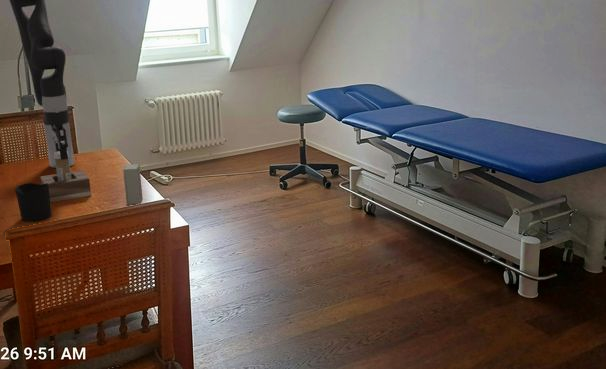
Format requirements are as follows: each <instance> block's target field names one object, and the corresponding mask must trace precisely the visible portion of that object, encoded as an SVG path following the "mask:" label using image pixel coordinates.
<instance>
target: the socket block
mask: <svg viewBox="0 0 606 369" xmlns="http://www.w3.org/2000/svg"><path fill="white" fill-rule="evenodd" d="M70 172H71V179H70V180H64V181H58V177H57V173H56V174H48V175H42V176H39V178H40V185H42V184H45V183H48V185H49V194H50V203H54V202H55V203H56V202H60V201H66V200H72V199H79V198H85V197H90V196H91V197H92V191H91V184H90V178H89V176H87V174H86V173H85V172H84V170H77V171H76V170H75V171H70Z"/></svg>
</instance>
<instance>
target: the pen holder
mask: <svg viewBox="0 0 606 369" xmlns="http://www.w3.org/2000/svg"><path fill="white" fill-rule="evenodd" d="M14 190H15V195H16V200H17V204H18V208H19V210H18V211H19V213H20V217H21V218H20V219H21V220H23V221H24V222H27V223H28V222H31V223H32V222H33V223H34V222H40V221H44V220H47V219H49V218H50V217H51V216H52V204H51V203H52V202H50V194H49V185H48V183H45V184H42V185H41V184H38V183H34V182H28V183H27V182H26V183H22V184H20V185H17V186H16V187H15V188H14Z"/></svg>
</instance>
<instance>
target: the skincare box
mask: <svg viewBox="0 0 606 369" xmlns="http://www.w3.org/2000/svg"><path fill="white" fill-rule="evenodd" d="M140 165H141V164H140V163H126V165H125V166H124V168H123V170H122V172H123V180H124V192H125V201H126V202H125V204H126V206H128V205H129V206H131V205H130V204H135V205H139V204H138V203H140V204H141V203H142V200H143V189H142V187H143V186H142V177H141V168H140Z"/></svg>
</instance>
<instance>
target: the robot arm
mask: <svg viewBox="0 0 606 369" xmlns="http://www.w3.org/2000/svg"><path fill="white" fill-rule="evenodd" d="M8 1H9V3H10V5H11V6H10V7H11V9H12V12H13V15H14V17H15V21H16V24H17V27H18V31H19V35H20V40H21V43H22V44H21V45H22V47H23V51H24V55H25V58H26V60H27V65H28V67H29V72H30V75H31V81H32V85H33V86H32V87H33V90H34V96H35V100H36V102H37V104H38V105H39V106H40V107H42V111H43V112H42V113H43V126H44V133H45V139H46V146H47V153H48V155H47V156H48V161H49V166H50V168H53V169H54V168H55V169H56V161H55V158H54V153H55V152H57V151H60V157H61V159H62V160H65V159H69V166H70V167H71V166H74V165H75V157H74V150H73V142H72V135H71V128H70V123H69V122H70V116H69V109H68V104H67V103H68V101H67V92H66V86H65V84H64V71H65V65H66V58H67V57H66V53H65V51H64V50H63V49H62V48H61V47H60V46H54V43H55V40H54V36H53V33H52V30H51V27H50V23H49V18H48V11H47V6H46V5H47V4H46V1H45V0H8ZM32 6H33V7H34V6H35V7H34V9H33V11H32V13H31V15H30V17H29V16H28V14H26V12H25V10H24V9H23V8H26V7H32ZM47 70H54V71H53V73H52V74H50V75H48V76H44V72H45V71H47ZM43 76H44V77H43ZM67 151H68V154H69V157H68V154H67Z"/></svg>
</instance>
